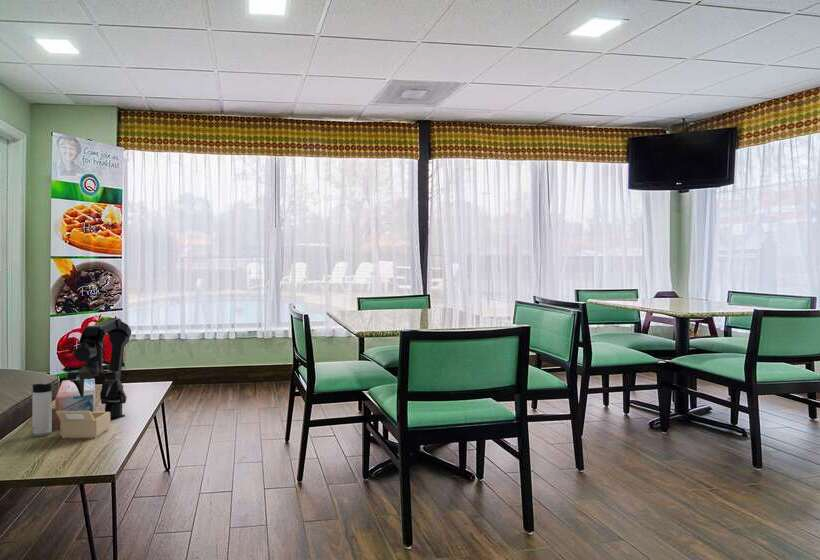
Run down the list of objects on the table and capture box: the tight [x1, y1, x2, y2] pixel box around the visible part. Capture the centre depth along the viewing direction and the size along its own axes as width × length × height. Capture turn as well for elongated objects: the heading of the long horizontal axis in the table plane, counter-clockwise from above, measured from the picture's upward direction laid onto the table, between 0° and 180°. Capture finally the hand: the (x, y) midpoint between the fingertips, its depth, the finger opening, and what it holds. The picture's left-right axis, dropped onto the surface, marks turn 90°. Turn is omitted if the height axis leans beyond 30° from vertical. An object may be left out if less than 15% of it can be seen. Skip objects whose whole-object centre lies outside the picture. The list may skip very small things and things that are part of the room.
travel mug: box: [31, 383, 53, 438], centre depth 228 cm, size 6×7×20 cm
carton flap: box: [55, 411, 95, 421], centre depth 222 cm, size 6×12×1 cm
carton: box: [59, 411, 111, 439], centre depth 230 cm, size 13×13×7 cm
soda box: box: [54, 378, 96, 429], centre depth 258 cm, size 41×14×13 cm, turn 27°
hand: (93, 396), depth 236 cm, fingers open, 9 cm apart
